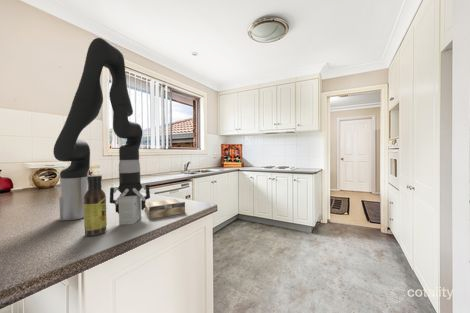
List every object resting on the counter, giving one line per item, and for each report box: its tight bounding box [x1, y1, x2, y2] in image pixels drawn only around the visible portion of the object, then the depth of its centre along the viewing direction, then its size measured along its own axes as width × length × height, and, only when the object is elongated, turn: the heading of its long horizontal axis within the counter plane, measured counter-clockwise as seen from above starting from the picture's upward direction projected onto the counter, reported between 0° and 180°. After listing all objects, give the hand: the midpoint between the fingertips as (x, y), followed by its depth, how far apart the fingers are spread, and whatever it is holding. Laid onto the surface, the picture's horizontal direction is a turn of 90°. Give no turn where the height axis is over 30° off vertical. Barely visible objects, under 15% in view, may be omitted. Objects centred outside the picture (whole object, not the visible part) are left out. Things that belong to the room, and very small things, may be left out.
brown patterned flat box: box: [144, 198, 186, 219], centre depth 94 cm, size 15×16×5 cm
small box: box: [117, 195, 142, 226], centre depth 80 cm, size 8×6×10 cm
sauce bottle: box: [83, 174, 107, 237], centre depth 69 cm, size 6×6×20 cm
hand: (130, 211), depth 80 cm, fingers open, 8 cm apart
